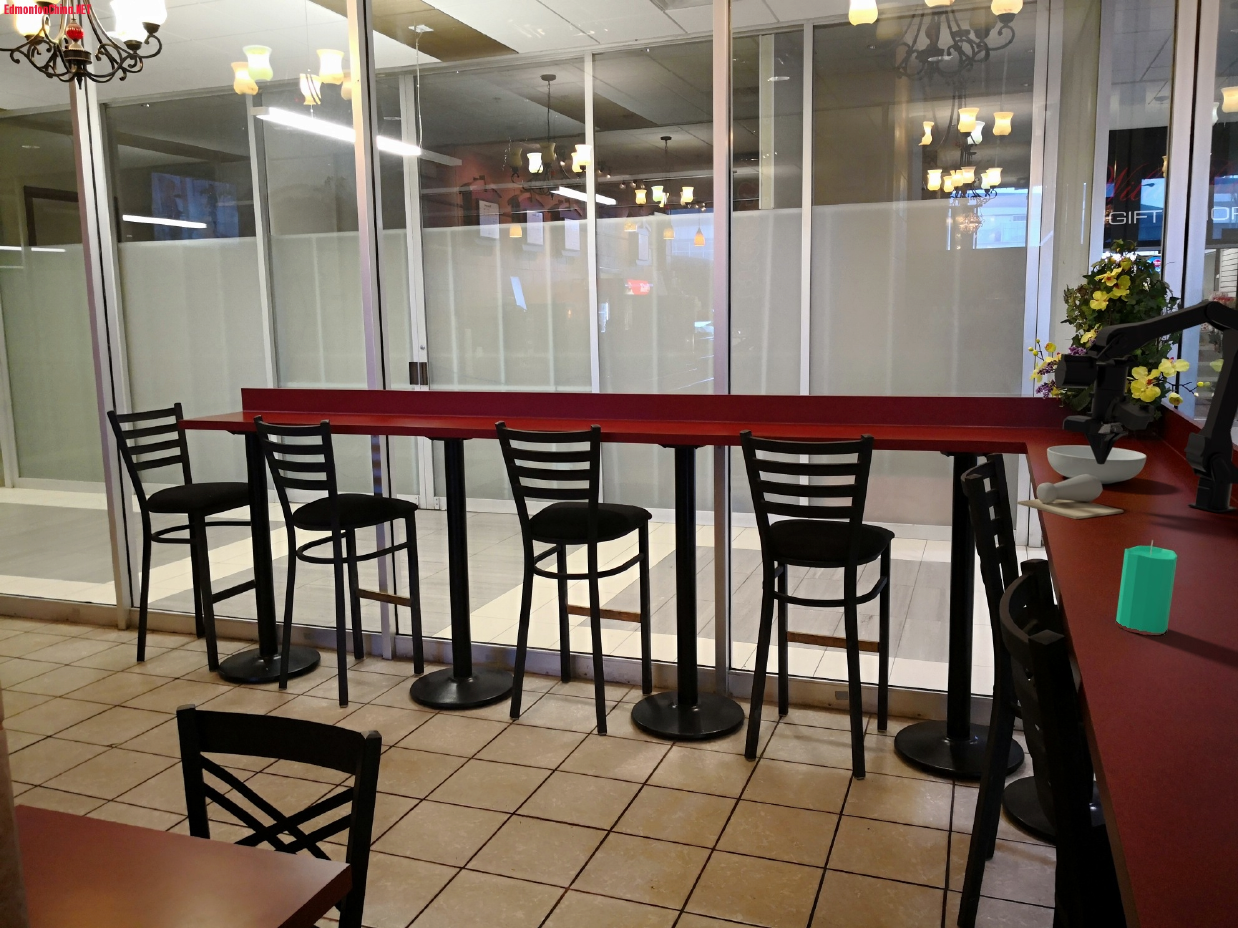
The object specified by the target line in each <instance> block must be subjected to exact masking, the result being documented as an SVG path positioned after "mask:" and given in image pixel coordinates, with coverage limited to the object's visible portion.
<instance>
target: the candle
mask: <svg viewBox="0 0 1238 928" xmlns="http://www.w3.org/2000/svg"><path fill="white" fill-rule="evenodd" d="M1153 543H1154V540H1153V539H1151V544H1150V545H1137V546H1134V547H1130V548H1125V549H1124V555H1123V561H1122V562H1123V563H1122V570H1121V580H1120V588H1119V594H1118V595H1119V597H1118V604H1117V609H1116V610H1117V611H1116V619H1115V620H1116V621H1117V622H1118V623H1119V624H1121V625H1122V626H1126V627H1127V628H1131V629H1137V630H1139V631H1147V632H1151V633H1164V632H1165V631H1166V630H1167V631H1168V627H1169V620H1170V611H1171V605H1172V599H1173V598H1172V597H1173V591H1174V585H1175V584H1174V583H1175V575H1176V568H1177V560H1178V555H1177V554H1176V552H1175V551H1174V550H1170V549H1166V548H1161V547H1157V546H1153ZM1116 621H1115V622H1116Z"/></svg>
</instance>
